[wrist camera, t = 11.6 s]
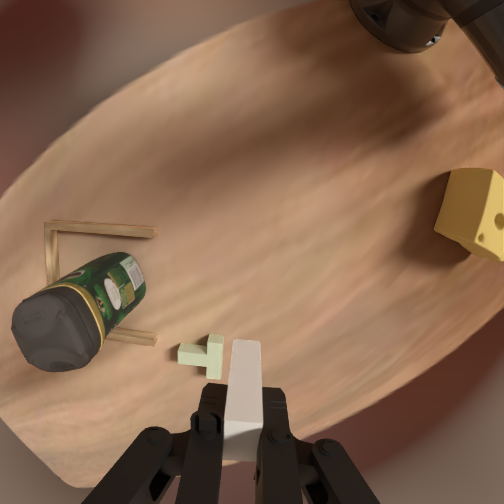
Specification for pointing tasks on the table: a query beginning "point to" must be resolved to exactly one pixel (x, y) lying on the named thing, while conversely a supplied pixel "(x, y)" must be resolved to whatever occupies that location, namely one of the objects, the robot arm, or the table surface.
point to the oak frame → (100, 228)
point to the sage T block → (204, 355)
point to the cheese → (474, 212)
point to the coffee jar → (77, 313)
